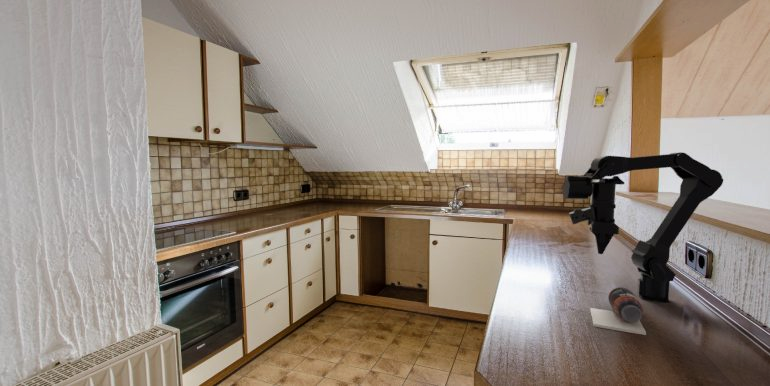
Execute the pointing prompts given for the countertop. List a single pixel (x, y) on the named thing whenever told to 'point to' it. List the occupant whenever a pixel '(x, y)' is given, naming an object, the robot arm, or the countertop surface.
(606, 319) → the mat
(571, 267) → the countertop surface
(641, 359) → the countertop surface
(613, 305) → the supplement bottle
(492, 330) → the countertop surface
